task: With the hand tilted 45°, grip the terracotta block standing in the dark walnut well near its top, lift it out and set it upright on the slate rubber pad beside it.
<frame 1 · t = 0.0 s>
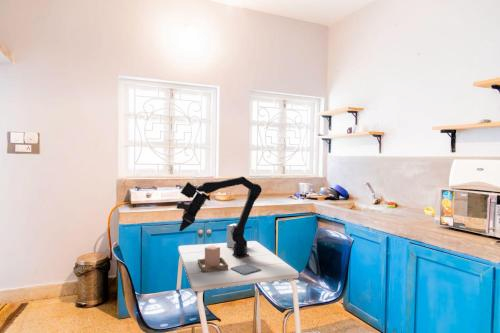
hand: (180, 229, 162), 15 cm above the table, tool tilted 35°, fingers open, 9 cm apart
slate pad: (245, 269, 146), on the table
supplement box: (235, 246, 185), on the table
walnut well: (212, 266, 150), on the table
terracotta block: (212, 257, 150), in the walnut well
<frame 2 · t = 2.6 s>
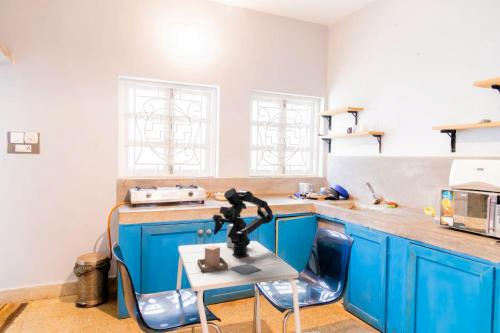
hand: (221, 235, 155), 13 cm above the table, tool tilted 45°, fingers open, 9 cm apart
nothing on the table moved.
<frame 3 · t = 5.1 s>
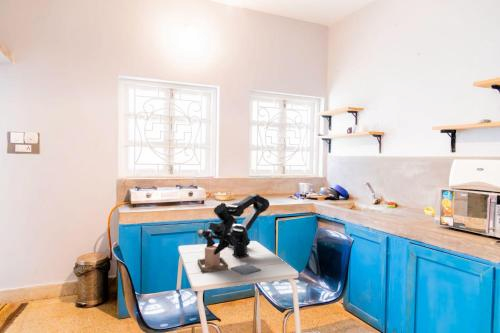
hand: (210, 253, 149), 7 cm above the table, tool tilted 45°, fingers closed on terracotta block, 5 cm apart
terracotta block: (212, 257, 150), in the walnut well, touching gripper
everything else where it was.
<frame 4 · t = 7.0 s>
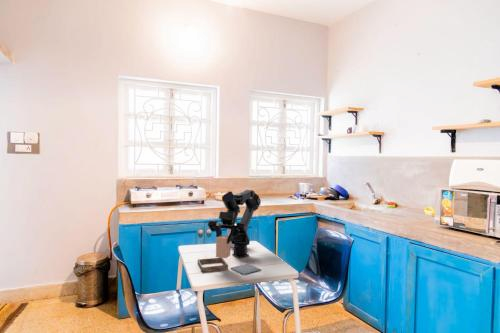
hand: (222, 242, 146), 12 cm above the table, tool tilted 45°, fingers closed on terracotta block, 5 cm apart
terracotta block: (223, 246, 147), point 10 cm above the table, touching gripper
everything else where it was.
when the fingers open (8 cm above the table, at t = 9.3 s): terracotta block drops 1 cm, resting on slate pad.
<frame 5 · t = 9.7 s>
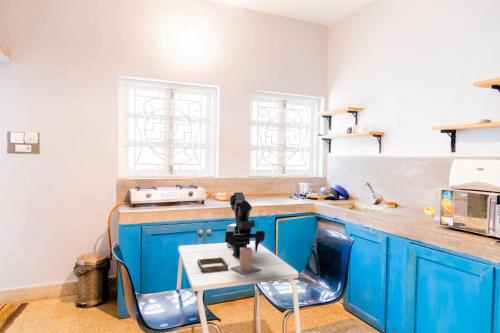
hand: (246, 252, 144), 8 cm above the table, tool tilted 45°, fingers open, 9 cm apart
terracotta block: (245, 258, 146), on the slate pad, point 5 cm above the table
everything else where it was.
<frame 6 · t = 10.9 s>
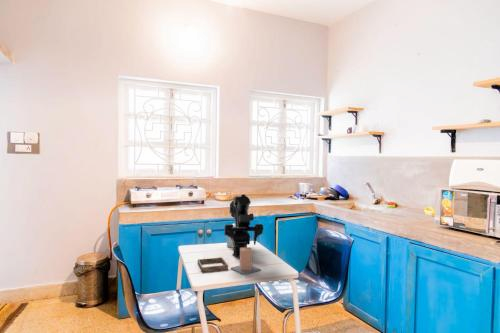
hand: (245, 244, 149), 11 cm above the table, tool tilted 45°, fingers open, 9 cm apart
nothing on the table moved.
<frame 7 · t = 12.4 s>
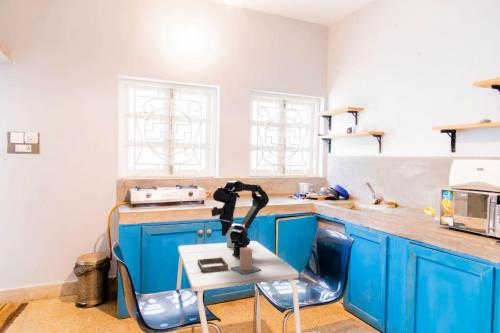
hand: (223, 235, 157), 13 cm above the table, tool tilted 15°, fingers open, 9 cm apart
nothing on the table moved.
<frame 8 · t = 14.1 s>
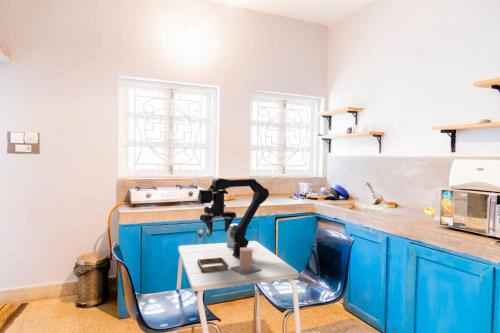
hand: (218, 233, 162), 13 cm above the table, tool pointing down, fingers open, 9 cm apart
nothing on the table moved.
at the end: terracotta block inside the target area on the slate pad (0.0 cm from its centre), point 5.1 cm above the slate pad's base; terracotta block tilted 0°; the gripper is holding nothing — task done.
